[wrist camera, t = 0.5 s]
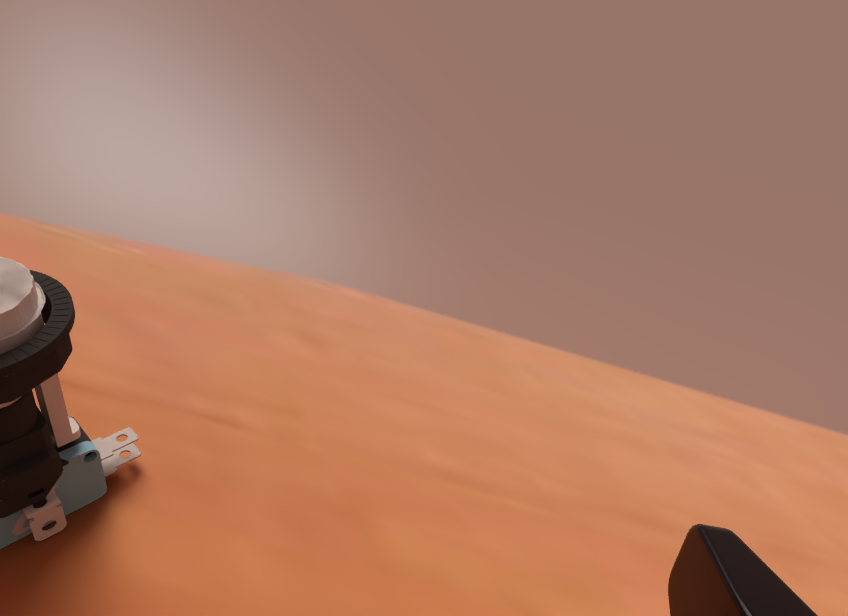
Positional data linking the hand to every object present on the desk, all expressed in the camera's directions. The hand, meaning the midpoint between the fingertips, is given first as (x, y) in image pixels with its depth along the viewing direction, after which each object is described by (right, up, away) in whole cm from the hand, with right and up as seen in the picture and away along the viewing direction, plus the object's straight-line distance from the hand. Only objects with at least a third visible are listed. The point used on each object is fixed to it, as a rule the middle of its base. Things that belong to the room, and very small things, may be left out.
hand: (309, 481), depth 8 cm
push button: (-13, -5, +18) cm, 22 cm away
